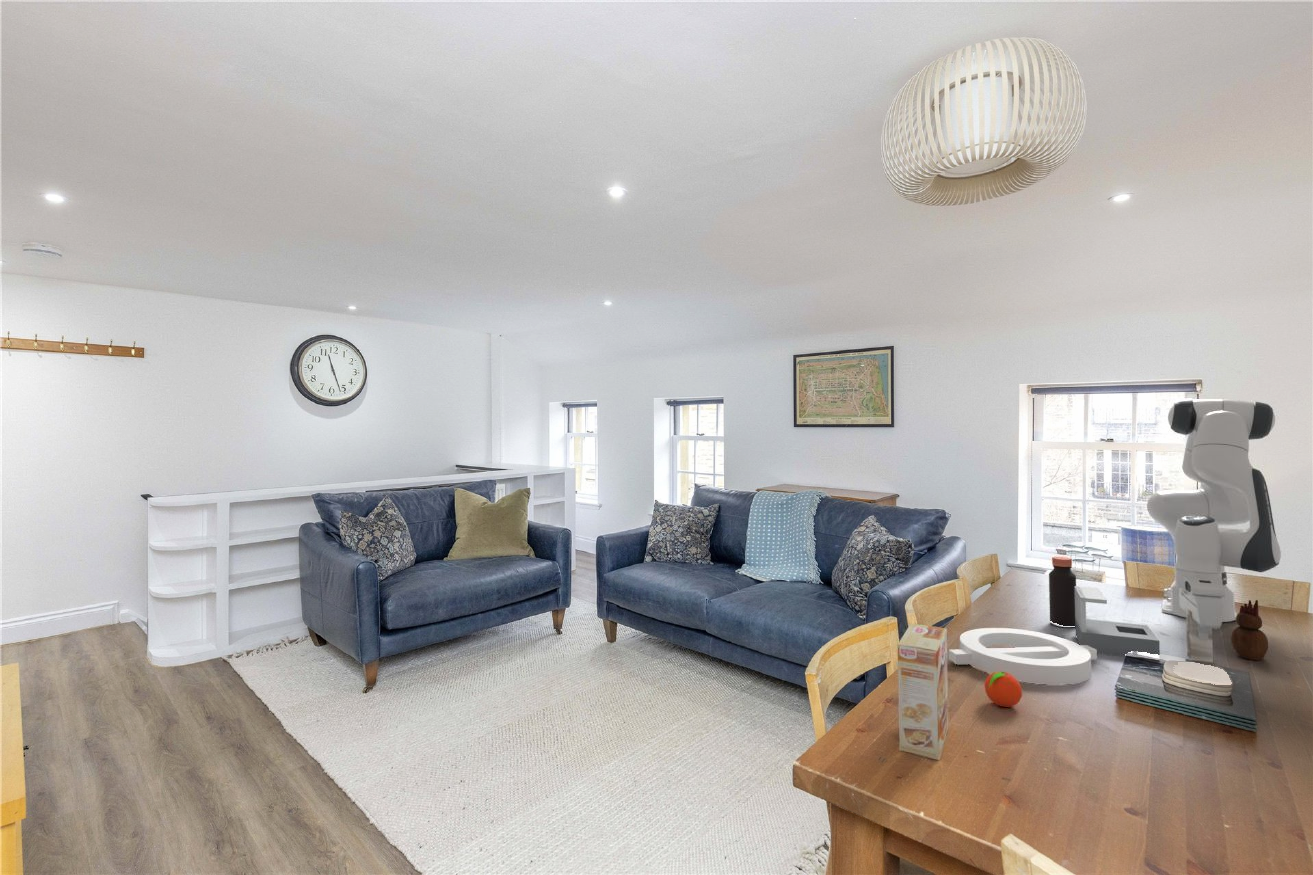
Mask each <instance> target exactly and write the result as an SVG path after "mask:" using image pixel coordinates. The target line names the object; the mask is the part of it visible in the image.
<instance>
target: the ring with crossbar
mask: <svg viewBox="0 0 1313 875" xmlns="http://www.w3.org/2000/svg"><path fill="white" fill-rule="evenodd" d="M992 645H1011V646H1015V648H986V647H988V646H992ZM1097 654H1098V653H1097V650H1096V649H1094V648H1092V647H1090V646H1088V645H1079V643H1077V642H1074V641H1072V640H1070V639H1066V638H1063V637H1059V636H1056V635H1052V634H1048V633H1044V632H1038V631H1034V630H1033V631H1032V630H1028V629H1027V630H1026V629H1021V628H1020V629H1019V628H1007V627H1006V628H1005V627H985V628H984V627H983V628H982V627H981V628H976V629H970V630H967V631H965V632H963V633H961V635H959V649H957V648H956V649H948V660H949V659H950V660H952V661H953V662H954V664H955V665H956V664H957V665H968V664H972V665H975V666H977V667H979V668H980V669H983V670H985V671H989V672H990V673H994V672H999V671H1000V672H1006V673H1009V674H1011V675H1012V676H1013V677H1015V678H1016V679H1017V680H1021V681H1025V682H1032V683H1039V684H1054V685H1053V686H1064V685H1063V684H1072V685H1077V684H1076V683H1078V684H1081V683H1080V682H1082V683H1084V682H1083V681H1085V682H1087V681H1089V678H1092V660H1097V659H1098V655H1097ZM950 660H949V661H950ZM952 661H951V662H952ZM953 662H952V663H953ZM1086 680H1087V681H1086ZM1055 684H1056V685H1055ZM1060 684H1062V685H1060Z"/></svg>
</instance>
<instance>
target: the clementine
mask: <svg viewBox="0 0 1313 875" xmlns="http://www.w3.org/2000/svg"><path fill="white" fill-rule="evenodd" d="M1020 683H1021V682H1018V681H1017V679H1016V678H1015V677H1013V676H1012V675H1011V674H1009V673H1006V672H1000V671H999V672H994V673H992V674H988V675H987V677H986V679H985V681H984V690H985V694H986V695H987V698H989V700H991V702H993V703H994V704H995V705H998V706H1000V707H1004V708H1008V707H1009V708H1010V707H1013V706H1016V705H1017V704H1018V703H1020V701H1021V699H1022V696H1023V695H1022V694H1023V690H1022V686H1021V684H1020Z"/></svg>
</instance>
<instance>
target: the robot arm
mask: <svg viewBox="0 0 1313 875" xmlns="http://www.w3.org/2000/svg"><path fill="white" fill-rule="evenodd" d="M1167 422H1168V424H1169V426H1170V429H1171V430H1172V431H1173V432H1174V433H1177V434H1180V435H1184V436H1187V439H1186V443H1185V449H1184V453H1183V459H1182V464H1181V465H1182V466H1181V468H1182V471H1183V473H1184V475H1185V476H1186V477H1188V478H1189V479H1191V480H1192V481H1195V482H1197V483H1200V486H1199V488H1197V489H1167V490H1161V491H1155V492H1153V493H1152V494H1151V495H1150V496H1149V498H1148V499H1147V503H1146V508H1147V509H1146V510H1147V512H1148V514H1149V516H1150V517H1151V518H1152V519H1153V520H1154V521H1155V522H1157V523H1158V524H1160V525H1161V526H1163V528H1165V529H1166V531H1168V533H1169V534H1170V537H1171V538H1172V540H1173V543H1174V544H1173V548H1174V549H1173V552H1174V553H1175V557H1176V558H1175V559H1176V561H1175V564H1174V576H1173V577H1174V578H1173V579H1174V581H1173V582H1172V584H1171V586H1170V588H1164V589H1163V595H1164V597H1167V599H1162V600H1161V612H1162V613H1165V614H1170V615H1174V616H1178V617H1182V618H1186V608H1188V609H1189V610H1190V611H1191V612H1192V618H1193V619H1194V620H1195V621H1196V622H1197V625H1198V631H1197V637H1198V638H1199V639H1200V640H1205V641H1207V640H1208V633H1209V630H1210V628H1212V629H1215V630H1218V629H1220V628H1221V626H1222V624H1223V623H1227V622H1228V623H1229V622H1232V621H1236V616H1237V614H1238V613H1237V612H1236V603H1235V594H1234V591H1233V590H1232V589H1230V588H1229V587H1228V586H1227V584H1228V576H1227V572H1226V571H1225V570H1226V569H1225V567H1229V568H1239V569H1242V570H1247V571H1251V572H1256V573H1264V572H1267V571H1270V570H1271V569H1274V568H1276V567H1277V566H1278V565H1279V564H1280V562H1281V554H1282V551H1281V547H1280V544H1279V542H1278V539H1277V538H1278V537H1277V534H1276V529H1275V525H1274V519H1273V513H1272V507H1271V506H1272V505H1271V500H1270V495H1269V494H1270V493H1269V489H1268V486H1267V482H1266V479H1265V476H1264V475H1263V473H1262V472H1261V470H1259V469H1256V468H1254V467H1253V466H1252V465H1251V462H1250V459H1249V452H1250V451H1249V450H1250V449H1249V448H1250V442H1249V440H1251V441H1253V440H1260V439H1263V438H1265V437H1267V436H1269V435H1270V432H1271V431H1272V430H1273V428H1274V427H1275V424H1276V416H1275V413H1274V409H1273V407H1272V406H1271V405H1269V404H1268V403H1264V402H1260V401H1247V400H1240V399H1232V398H1231V399H1230V398H1229V399H1228V398H1222V399H1219V398H1218V399H1216V398H1215V399H1214V398H1213V399H1212V398H1210V399H1209V398H1204V399H1202V398H1201V399H1200V398H1199V399H1193V398H1184V399H1183V398H1182V399H1179V400H1177V401H1175V402H1174V403H1173V405H1172V407H1170V409H1169V411H1168V415H1167ZM1248 522H1249V527H1248V528H1247V529H1237V528H1224V527H1219V526H1225V527H1226V526H1234V525H1235V526H1236V525H1239V524H1240V525H1242V524H1246V523H1248Z"/></svg>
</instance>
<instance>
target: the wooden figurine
mask: <svg viewBox="0 0 1313 875" xmlns="http://www.w3.org/2000/svg"><path fill="white" fill-rule="evenodd" d="M1236 614H1237V616H1236V620H1235V622H1236V624H1237V625H1238V626H1236V627H1234V628H1233V629H1232V631H1231V636H1230V642H1231V645H1232V648H1233V650H1234V652H1235V653H1236V654H1237V655H1238V656H1240V657H1241V658H1243V659H1247V660H1250V661H1261V660H1263V659H1264V658H1265V657H1266V655H1267V653H1268V649H1269V641H1268V637H1267V634H1265V633H1264V631H1262V630H1260V629H1261V628H1262V626H1263V619H1262V617H1261V616H1260V615H1259V600H1258V599H1256V600H1255V601H1254V605H1253V603H1252V600H1250V599H1249V600H1248V603H1244V605H1240V608H1239V612H1238V613H1236Z"/></svg>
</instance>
